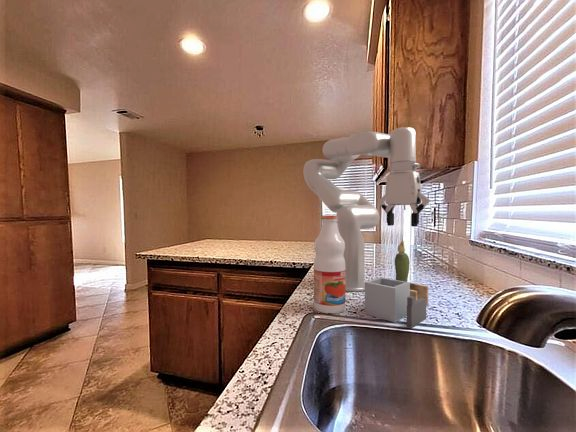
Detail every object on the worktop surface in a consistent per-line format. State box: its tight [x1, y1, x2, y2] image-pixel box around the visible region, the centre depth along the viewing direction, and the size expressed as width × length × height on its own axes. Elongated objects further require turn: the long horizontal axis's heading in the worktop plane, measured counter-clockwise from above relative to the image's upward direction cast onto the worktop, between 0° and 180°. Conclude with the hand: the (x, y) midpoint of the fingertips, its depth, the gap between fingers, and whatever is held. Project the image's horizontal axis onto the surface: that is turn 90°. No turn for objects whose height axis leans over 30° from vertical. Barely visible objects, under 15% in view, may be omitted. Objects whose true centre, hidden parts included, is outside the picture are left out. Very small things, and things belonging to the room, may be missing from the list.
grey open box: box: [364, 276, 411, 323], centre depth 81 cm, size 9×9×9 cm
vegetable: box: [394, 240, 410, 282], centre depth 90 cm, size 4×4×20 cm
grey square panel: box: [406, 296, 427, 329], centre depth 75 cm, size 1×9×8 cm, turn 134°
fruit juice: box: [313, 214, 346, 315], centre depth 85 cm, size 9×9×28 cm
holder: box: [410, 282, 429, 307], centre depth 89 cm, size 11×9×6 cm
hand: (402, 225), depth 90 cm, fingers open, 7 cm apart
